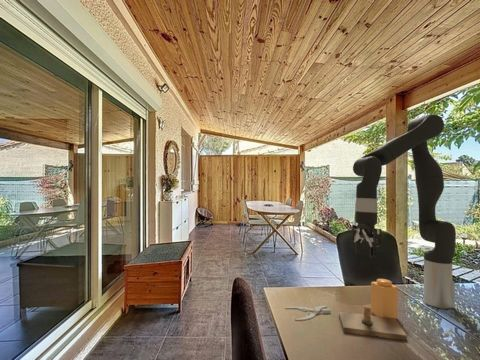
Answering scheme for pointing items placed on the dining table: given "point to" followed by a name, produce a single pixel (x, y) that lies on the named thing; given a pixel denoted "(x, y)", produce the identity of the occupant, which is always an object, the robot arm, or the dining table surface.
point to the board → (371, 325)
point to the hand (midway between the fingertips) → (365, 255)
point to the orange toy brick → (384, 298)
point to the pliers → (315, 311)
